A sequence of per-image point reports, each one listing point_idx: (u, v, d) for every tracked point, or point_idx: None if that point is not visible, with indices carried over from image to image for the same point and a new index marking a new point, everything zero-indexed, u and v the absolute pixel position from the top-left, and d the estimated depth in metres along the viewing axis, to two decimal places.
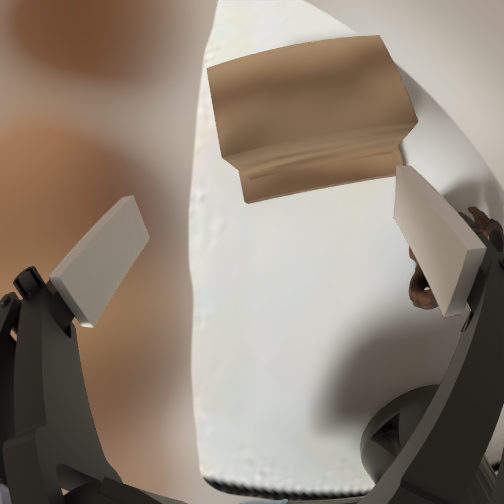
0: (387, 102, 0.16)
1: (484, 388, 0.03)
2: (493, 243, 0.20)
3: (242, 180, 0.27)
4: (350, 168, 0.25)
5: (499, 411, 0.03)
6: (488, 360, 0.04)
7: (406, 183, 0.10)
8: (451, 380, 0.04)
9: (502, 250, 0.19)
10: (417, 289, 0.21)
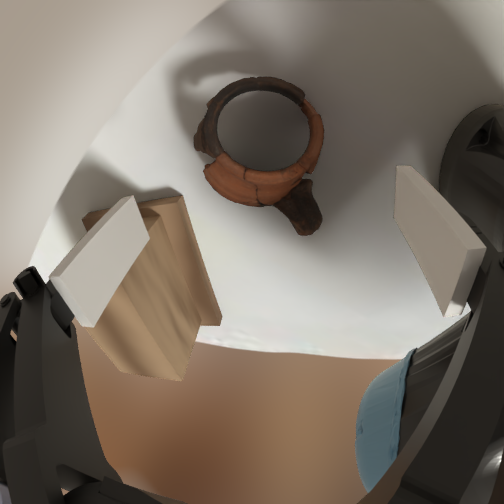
0: None
1: (484, 388, 0.03)
2: None
3: (202, 324, 0.33)
4: (182, 254, 0.27)
5: (499, 411, 0.03)
6: (488, 360, 0.04)
7: (406, 183, 0.10)
8: (451, 380, 0.04)
9: (251, 84, 0.15)
10: (296, 229, 0.21)
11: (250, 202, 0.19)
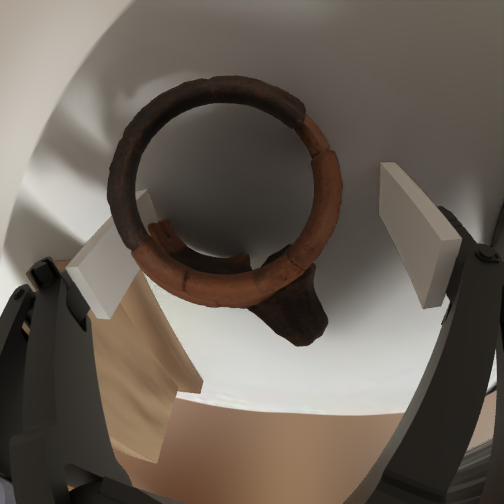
0: None
1: (464, 379, 0.03)
2: None
3: (180, 390, 0.25)
4: (143, 326, 0.19)
5: (482, 401, 0.03)
6: (467, 351, 0.04)
7: (388, 179, 0.11)
8: (430, 373, 0.04)
9: (198, 93, 0.08)
10: None
11: (209, 306, 0.11)
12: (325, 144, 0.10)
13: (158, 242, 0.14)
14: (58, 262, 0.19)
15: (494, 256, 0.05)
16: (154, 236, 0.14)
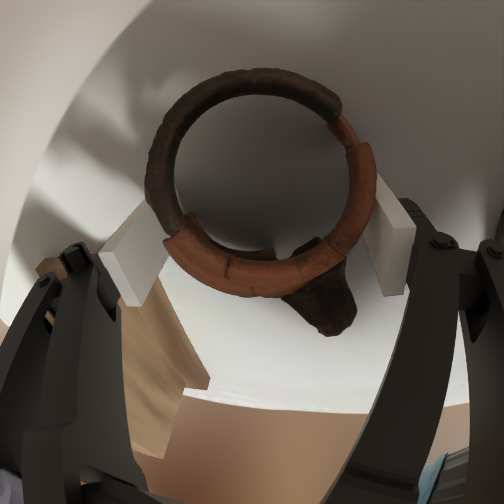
0: None
1: (424, 366, 0.04)
2: None
3: (187, 387, 0.26)
4: (153, 322, 0.20)
5: (446, 386, 0.04)
6: (425, 338, 0.04)
7: None
8: (390, 363, 0.05)
9: (239, 83, 0.08)
10: None
11: (242, 296, 0.11)
12: (356, 138, 0.10)
13: None
14: None
15: (449, 242, 0.06)
16: None
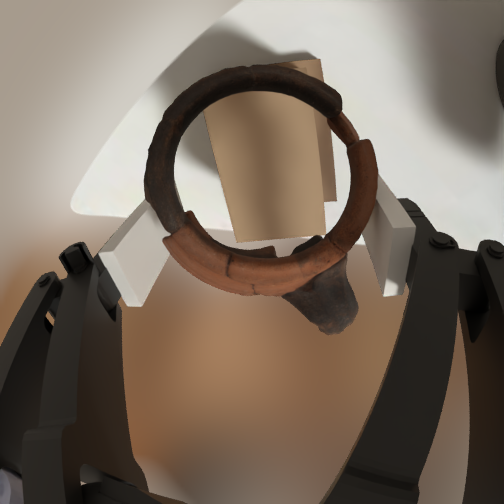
0: None
1: (424, 366, 0.04)
2: None
3: None
4: (316, 110, 0.25)
5: (446, 386, 0.04)
6: (424, 338, 0.04)
7: None
8: (390, 363, 0.05)
9: (240, 80, 0.08)
10: None
11: (243, 294, 0.11)
12: (357, 135, 0.10)
13: None
14: None
15: (449, 242, 0.06)
16: None
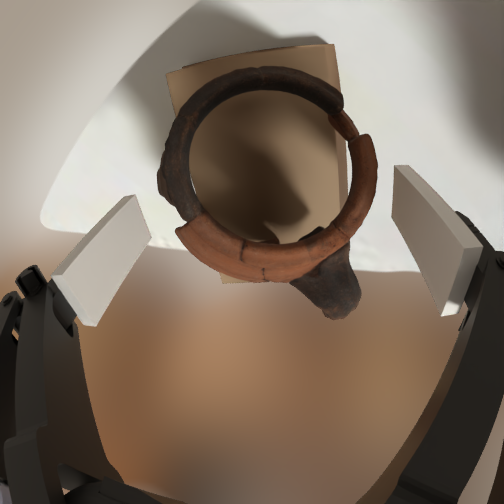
0: None
1: (481, 387, 0.03)
2: None
3: None
4: None
5: (497, 409, 0.03)
6: (485, 359, 0.04)
7: (404, 182, 0.10)
8: (448, 379, 0.04)
9: (249, 79, 0.08)
10: None
11: (253, 281, 0.12)
12: (357, 130, 0.10)
13: None
14: None
15: None
16: None
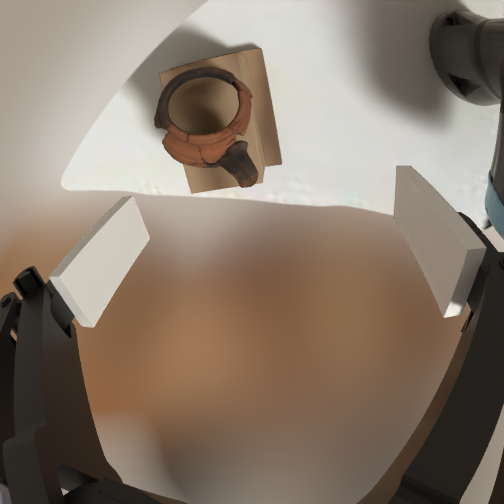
0: None
1: (484, 388, 0.03)
2: None
3: (265, 165, 0.37)
4: (259, 89, 0.31)
5: (499, 411, 0.03)
6: (488, 360, 0.04)
7: (406, 183, 0.10)
8: (451, 380, 0.04)
9: (193, 73, 0.19)
10: None
11: (197, 162, 0.23)
12: (246, 90, 0.21)
13: None
14: None
15: None
16: None
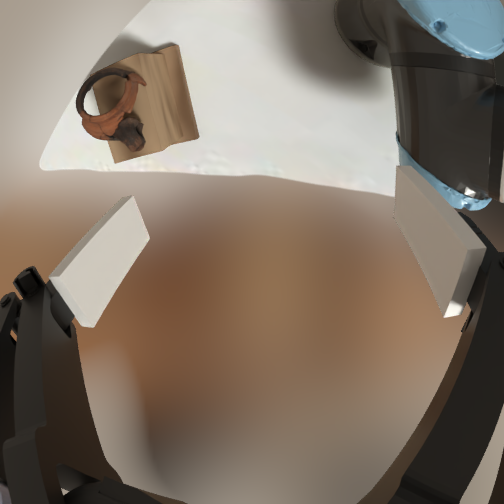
0: (129, 70, 0.27)
1: (484, 388, 0.03)
2: (100, 78, 0.25)
3: (183, 140, 0.41)
4: (175, 78, 0.35)
5: (499, 411, 0.03)
6: (488, 360, 0.04)
7: (406, 183, 0.10)
8: (451, 380, 0.04)
9: (99, 74, 0.24)
10: None
11: (101, 135, 0.28)
12: (136, 80, 0.26)
13: None
14: None
15: None
16: None
